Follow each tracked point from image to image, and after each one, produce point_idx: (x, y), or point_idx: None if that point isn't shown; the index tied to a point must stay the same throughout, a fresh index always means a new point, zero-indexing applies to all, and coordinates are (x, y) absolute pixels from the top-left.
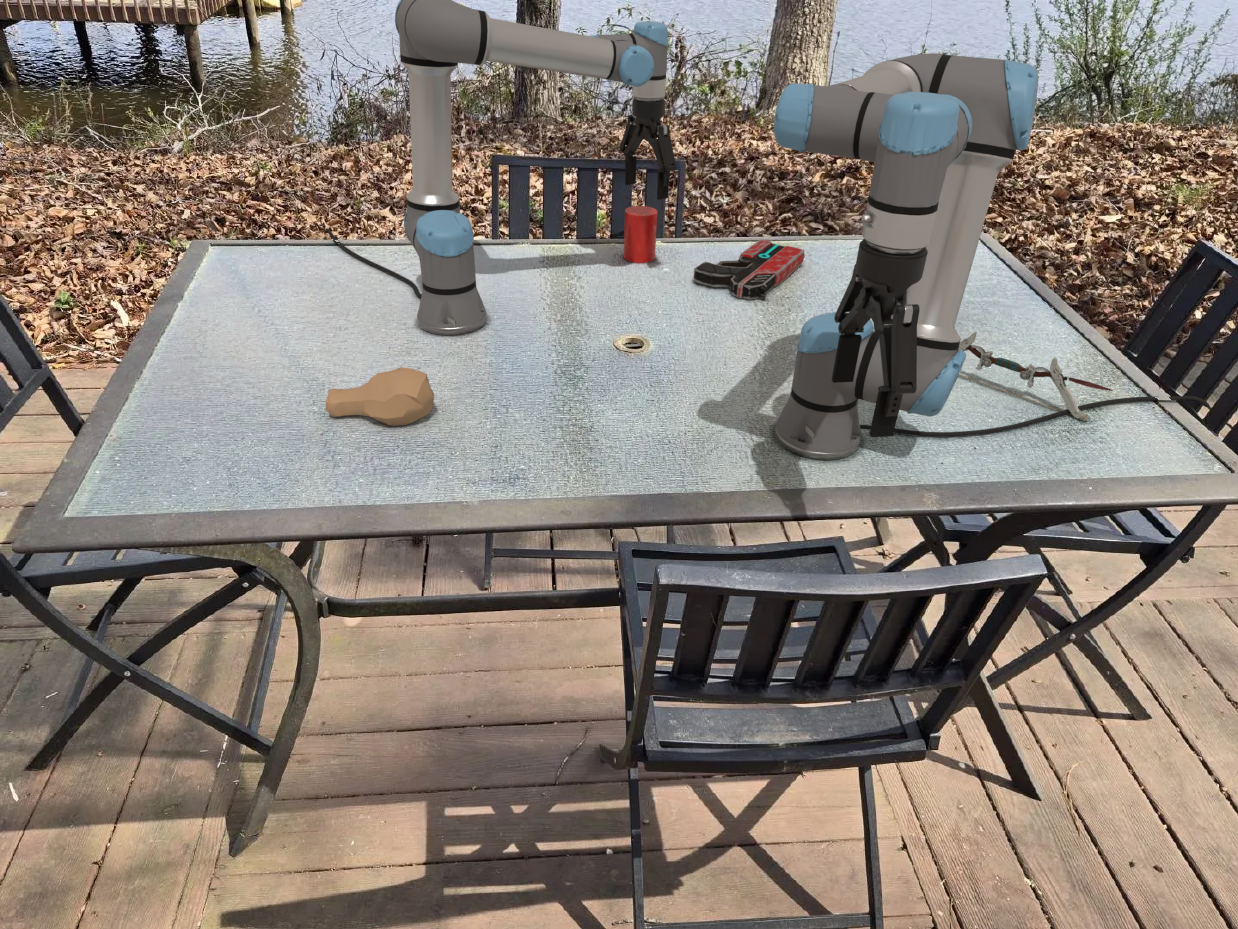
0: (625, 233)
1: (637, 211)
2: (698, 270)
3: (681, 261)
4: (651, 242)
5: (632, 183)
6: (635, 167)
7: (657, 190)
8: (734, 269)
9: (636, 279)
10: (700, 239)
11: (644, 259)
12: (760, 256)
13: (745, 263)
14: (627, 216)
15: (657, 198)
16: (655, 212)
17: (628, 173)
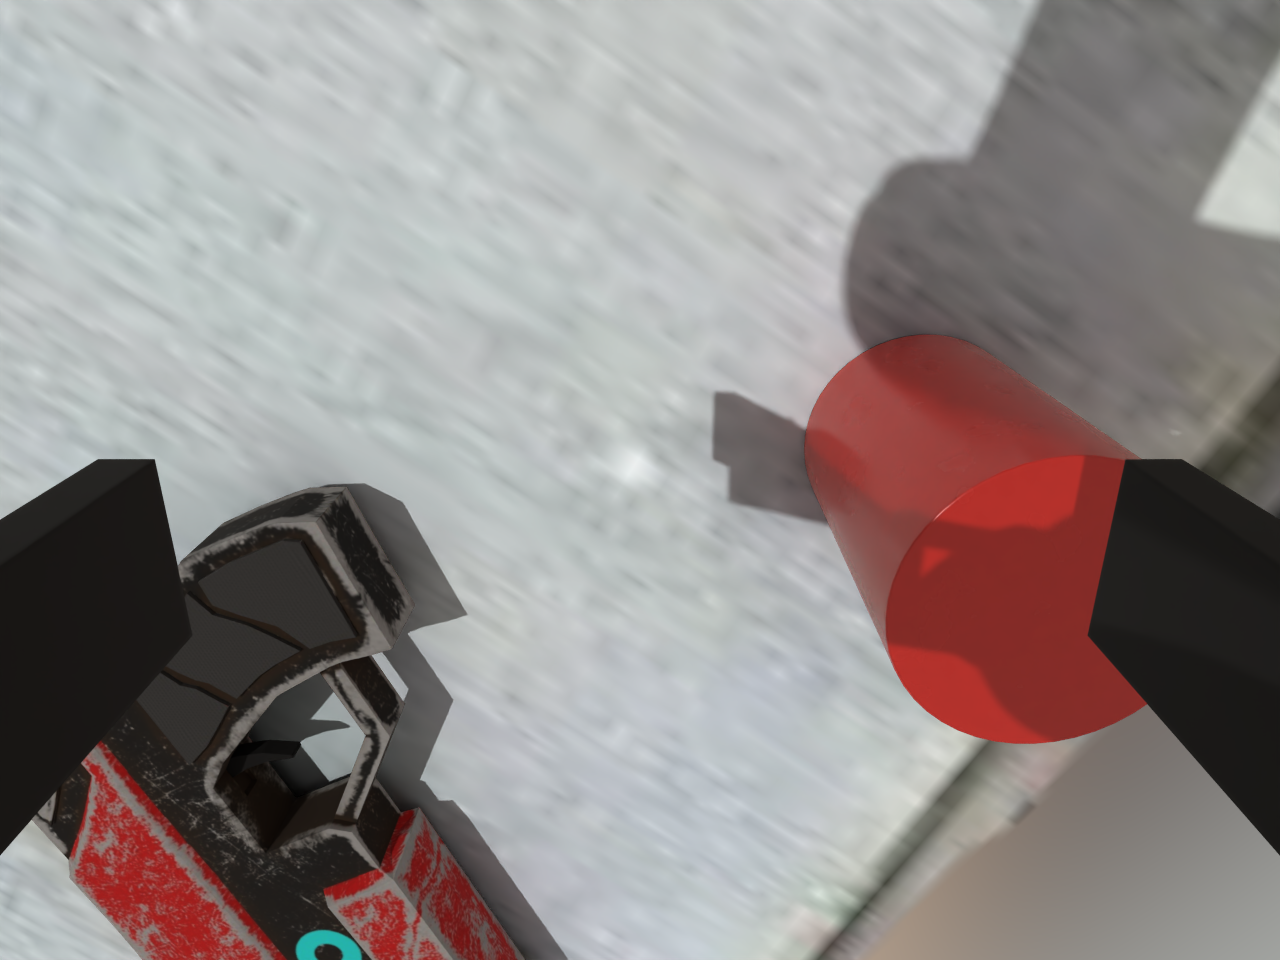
0: (1023, 390)
1: (1061, 570)
2: (272, 522)
3: (699, 622)
4: (829, 516)
5: (1102, 575)
6: (1268, 818)
7: (57, 522)
8: (190, 712)
9: (582, 185)
10: (922, 890)
11: (814, 421)
12: (328, 935)
13: (305, 827)
14: (1068, 442)
15: (129, 462)
16: (926, 692)
17: (1246, 586)
